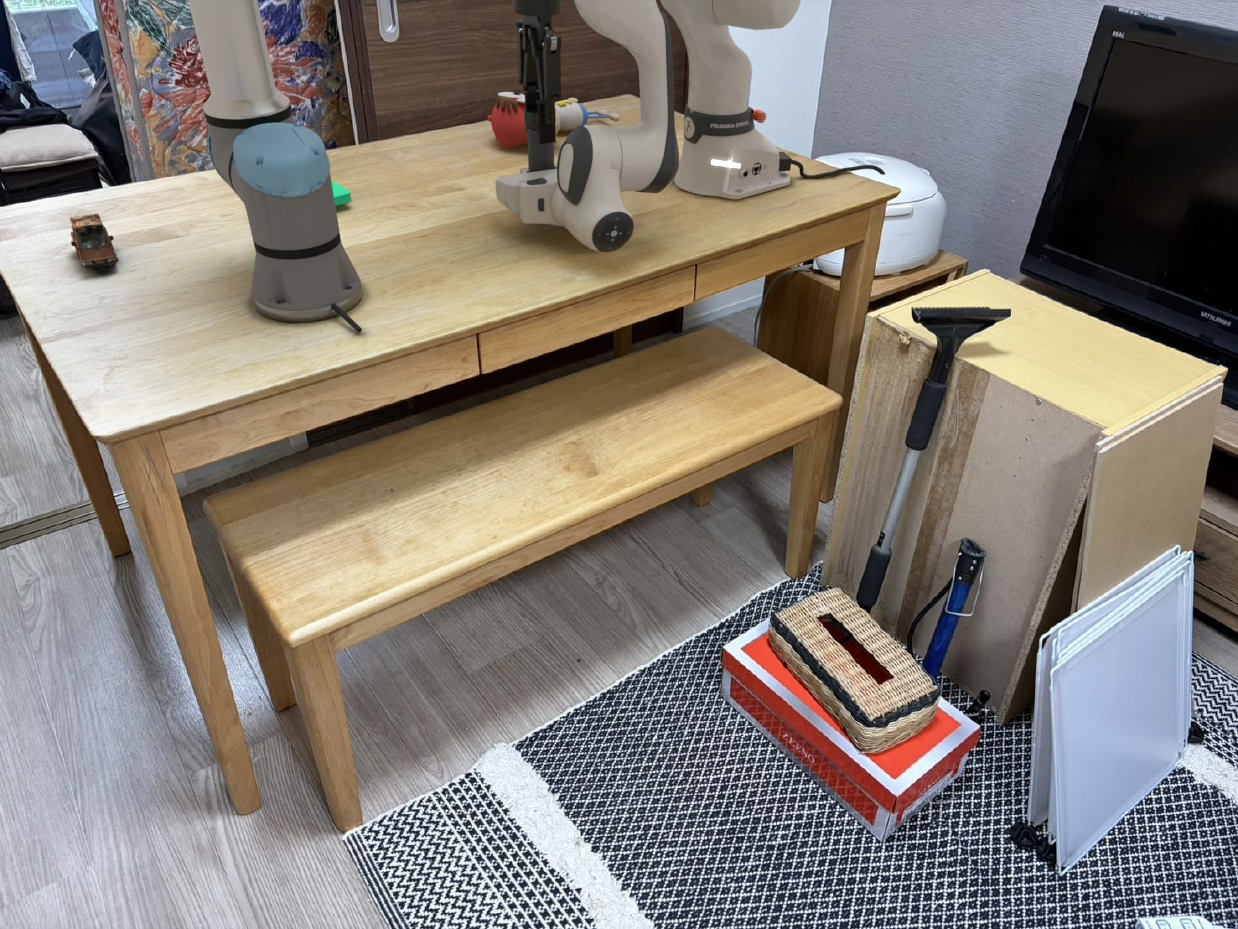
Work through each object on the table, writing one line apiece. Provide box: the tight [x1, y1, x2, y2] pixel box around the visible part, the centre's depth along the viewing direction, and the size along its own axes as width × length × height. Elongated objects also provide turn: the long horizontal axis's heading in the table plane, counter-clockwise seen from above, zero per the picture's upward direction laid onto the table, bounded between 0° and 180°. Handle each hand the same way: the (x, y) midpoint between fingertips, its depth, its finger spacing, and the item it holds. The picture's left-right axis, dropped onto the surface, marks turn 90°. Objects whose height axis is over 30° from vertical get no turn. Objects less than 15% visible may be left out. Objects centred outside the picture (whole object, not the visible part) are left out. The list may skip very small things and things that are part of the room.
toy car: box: [69, 213, 120, 274], centre depth 141 cm, size 6×12×7 cm, turn 39°
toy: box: [487, 91, 621, 148], centre depth 195 cm, size 18×10×30 cm
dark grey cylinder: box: [527, 126, 555, 172], centre depth 159 cm, size 4×4×16 cm
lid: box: [524, 105, 556, 127], centre depth 154 cm, size 5×5×2 cm
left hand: (540, 136), depth 156 cm, fingers closed on lid, 5 cm apart
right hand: (539, 170), depth 161 cm, fingers closed on dark grey cylinder, 4 cm apart
